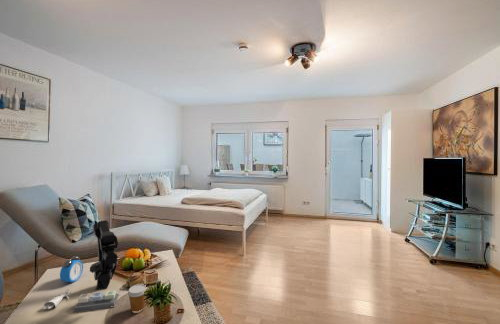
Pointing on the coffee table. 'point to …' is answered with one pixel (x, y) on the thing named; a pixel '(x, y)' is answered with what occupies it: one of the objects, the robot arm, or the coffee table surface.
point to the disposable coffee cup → (137, 297)
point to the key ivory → (83, 298)
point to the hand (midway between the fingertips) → (108, 283)
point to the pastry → (135, 279)
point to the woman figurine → (56, 300)
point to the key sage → (110, 294)
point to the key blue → (97, 296)
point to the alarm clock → (71, 270)
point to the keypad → (95, 304)
